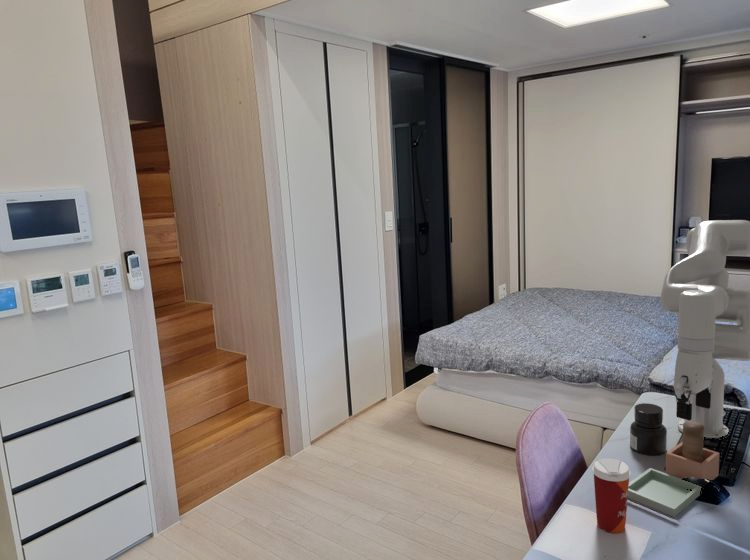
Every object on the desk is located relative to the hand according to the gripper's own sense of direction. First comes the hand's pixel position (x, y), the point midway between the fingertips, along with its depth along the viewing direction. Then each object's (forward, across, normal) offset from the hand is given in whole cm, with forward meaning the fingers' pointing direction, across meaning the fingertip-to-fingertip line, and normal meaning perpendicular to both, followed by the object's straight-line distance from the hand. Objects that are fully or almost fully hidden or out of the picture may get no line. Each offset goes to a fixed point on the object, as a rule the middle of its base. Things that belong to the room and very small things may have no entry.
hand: (693, 412), depth 135 cm
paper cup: (+18, +30, -3) cm, 35 cm away
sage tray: (+17, +12, -1) cm, 21 cm away
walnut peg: (+17, -1, 0) cm, 17 cm away
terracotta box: (+17, -1, 0) cm, 17 cm away
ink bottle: (+17, -7, -14) cm, 23 cm away
